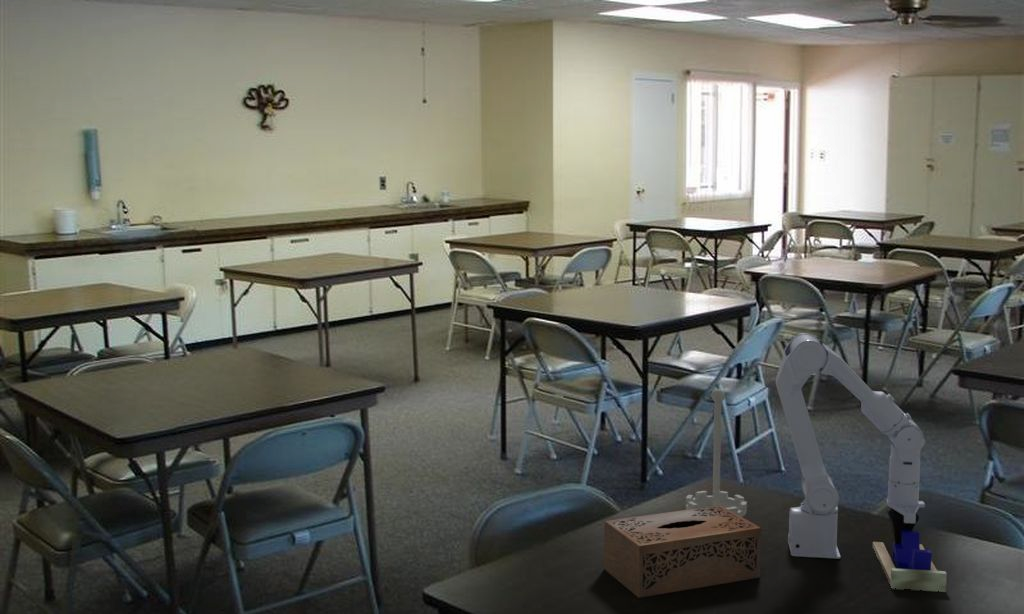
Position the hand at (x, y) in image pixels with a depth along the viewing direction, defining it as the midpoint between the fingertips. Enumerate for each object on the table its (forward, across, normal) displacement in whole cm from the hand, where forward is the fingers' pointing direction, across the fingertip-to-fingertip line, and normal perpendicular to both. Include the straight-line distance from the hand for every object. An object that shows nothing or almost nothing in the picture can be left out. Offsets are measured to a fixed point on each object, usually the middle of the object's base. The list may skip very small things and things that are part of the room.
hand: (900, 546), depth 208 cm
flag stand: (+2, +14, +36) cm, 39 cm away
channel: (+2, -6, 0) cm, 6 cm away
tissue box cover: (+2, -15, +43) cm, 46 cm away
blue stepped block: (+2, -8, 0) cm, 8 cm away
